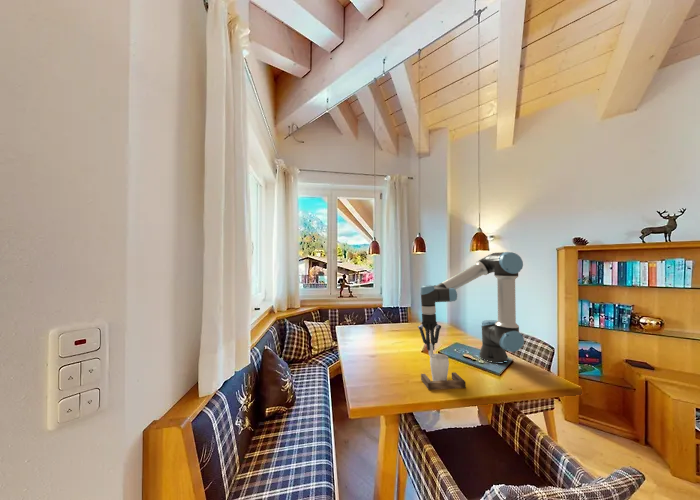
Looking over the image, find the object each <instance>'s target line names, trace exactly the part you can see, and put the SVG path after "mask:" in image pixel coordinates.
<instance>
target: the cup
mask: <svg viewBox="0 0 700 500" xmlns="http://www.w3.org/2000/svg"><path fill="white" fill-rule="evenodd" d="M429 365H430V372H431V376H432V377H431V378H432V381H444V380H448V373H449V365H450V363H449V356H447V355H446V354H443V353H433V354H431V355H430V356H429Z"/></svg>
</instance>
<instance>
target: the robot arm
mask: <svg viewBox="0 0 700 500" xmlns="http://www.w3.org/2000/svg"><path fill="white" fill-rule="evenodd" d="M523 266H524V261H523V259H522V257H521V256H520V255H519V254H518V253H516V252H510V251H503V252H492V253H490V254H488V255H486V256H484V257H483V258H481V259H479V260H477V261H476V262H475V264H474V265H471V266H470V267H468V268H466V269H465V270H461V272H459V273H457V274H456V275H453V276H451V277H450V278H448V279H446V280H444V281H442V282H440V283H438V284H435V285H431V284H427V285H422V286H421V285H420V301H421V305H420V306H421V324H420V325H418V326H417V328H418V330H419V332H420V336H421V339H422V340H421V341H422V343H424V344H425V345H426V350H427V351H428V356H429V357H430V355H431V354H434V351H435V345H436V344H438V341H439V337H440V331H441V329H442V325H441V324H438V322H437V314H436V313H437V312H436V311H437V308H436V303H448V302H449V303H452V302H456V301H457V300H458V291H457V289H459V288H462V287H463V286H465V285H467V284H469V283H470V282H472V281H474V280H476V279H478V278H480V277H481V276H487V275H489V274H492V273H494V275H493V276H494V278H497V280H496V281H497V319H496V320H492V319H491V320H490V319H488V320H487V319H486V320H482V322H481V325H480V326H481V342H482V344H481V345H482V346H481V348H480V350H479V351H480V352H479V358H480V357H481V358H483V359H485V360H488V361H492V362H504V361H507V360H508V361H509V357H508V354H507V352H512V353H514V352H518V351H519V350H520V349H521V348H523V346H524V344H525V343H524V342H525V338H524V336H523V334H522V333H521V332H520V326H519V325H518V324H517V321H516V319H517V317H516V315H517V313H516V312H517V311H516V279H518V278H519V273H520V272H522V271H521V270H522V269H523ZM423 329H425V330H423ZM424 331H425V332H424ZM481 358H480V359H481Z"/></svg>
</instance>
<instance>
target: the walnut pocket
mask: <svg viewBox="0 0 700 500" xmlns="http://www.w3.org/2000/svg"><path fill="white" fill-rule="evenodd" d="M420 379H421V382H422V383H423V385H424V386H425V387H426V388H427V390H428V391H430V390H448V389H449V390H450V389H451V390H453V389H466V380H464V379H463V378H462V377H461V376H460V375H459V374H458V373H456V372H454V371H453V372H451V379H447V380H444V381H433V380H430V378H429V377H428V376H427V375H426V373H421V374H420Z"/></svg>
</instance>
